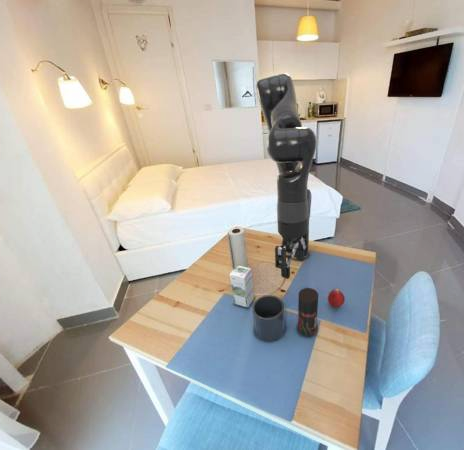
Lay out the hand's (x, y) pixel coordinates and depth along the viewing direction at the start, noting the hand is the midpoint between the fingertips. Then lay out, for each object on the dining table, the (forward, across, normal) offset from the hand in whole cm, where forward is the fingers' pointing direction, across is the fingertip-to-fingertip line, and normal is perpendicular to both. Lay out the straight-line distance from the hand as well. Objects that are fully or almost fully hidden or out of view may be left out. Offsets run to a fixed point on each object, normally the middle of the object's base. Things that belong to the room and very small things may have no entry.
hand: (293, 268), depth 68 cm
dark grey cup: (+26, +2, -8) cm, 27 cm away
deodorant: (+26, -4, +3) cm, 27 cm away
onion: (+26, -18, +8) cm, 32 cm away
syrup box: (+26, -4, -23) cm, 35 cm away
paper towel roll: (+25, -16, -34) cm, 45 cm away
